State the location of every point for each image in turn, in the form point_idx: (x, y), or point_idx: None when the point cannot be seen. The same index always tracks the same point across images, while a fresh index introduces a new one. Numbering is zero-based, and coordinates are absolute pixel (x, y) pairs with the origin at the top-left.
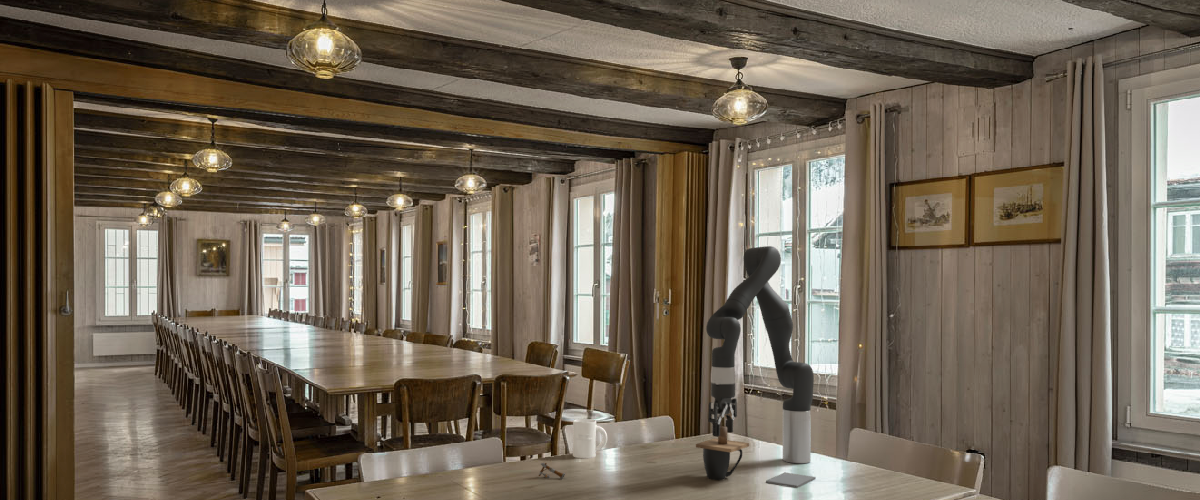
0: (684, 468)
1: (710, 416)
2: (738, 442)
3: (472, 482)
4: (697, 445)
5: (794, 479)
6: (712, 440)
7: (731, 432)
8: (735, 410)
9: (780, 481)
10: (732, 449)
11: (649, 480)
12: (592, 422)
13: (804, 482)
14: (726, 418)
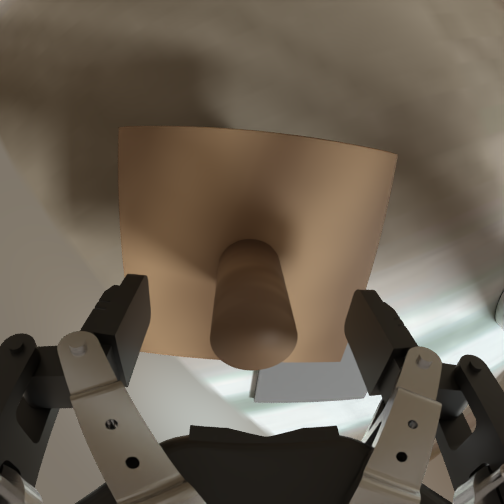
0: (318, 14)
1: (2, 387)
2: (331, 323)
3: None
4: (121, 139)
5: (317, 382)
6: (317, 167)
7: (347, 326)
8: (448, 453)
9: (276, 368)
10: (150, 350)
11: (63, 19)
12: None
13: (298, 401)
14: (401, 365)
